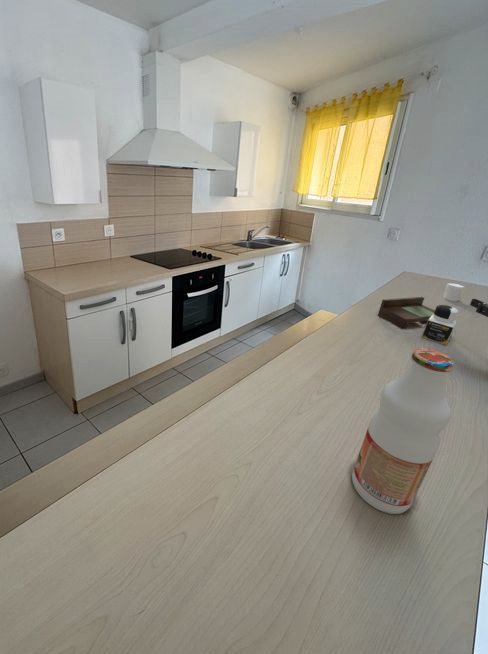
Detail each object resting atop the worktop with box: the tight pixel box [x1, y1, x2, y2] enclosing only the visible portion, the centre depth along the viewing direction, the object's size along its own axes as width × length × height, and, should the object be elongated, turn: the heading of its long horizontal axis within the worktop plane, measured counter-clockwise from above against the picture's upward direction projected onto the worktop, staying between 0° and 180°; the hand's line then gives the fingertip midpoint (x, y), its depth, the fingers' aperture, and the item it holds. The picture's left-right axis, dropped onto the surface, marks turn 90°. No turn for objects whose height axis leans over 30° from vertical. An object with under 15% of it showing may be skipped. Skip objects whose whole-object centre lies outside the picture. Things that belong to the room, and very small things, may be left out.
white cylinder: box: [442, 282, 466, 302], centre depth 150 cm, size 7×7×7 cm
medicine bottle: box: [421, 304, 459, 346], centre depth 111 cm, size 7×7×12 cm
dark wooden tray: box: [377, 296, 435, 330], centre depth 126 cm, size 20×12×7 cm, turn 105°
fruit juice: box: [351, 347, 455, 515], centre depth 52 cm, size 9×9×28 cm
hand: (485, 302), depth 96 cm, fingers open, 8 cm apart
